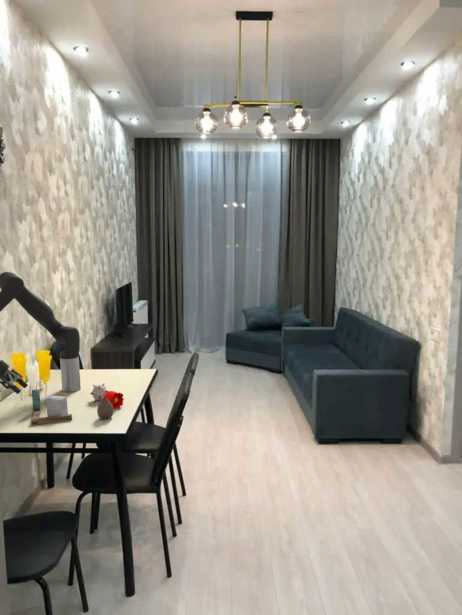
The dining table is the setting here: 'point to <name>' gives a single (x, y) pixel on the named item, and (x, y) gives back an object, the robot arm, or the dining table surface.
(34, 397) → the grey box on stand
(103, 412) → the grey rounded lump
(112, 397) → the flower
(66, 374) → the robot arm
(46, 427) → the dining table surface
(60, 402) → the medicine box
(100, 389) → the grey spiky ball
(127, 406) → the dining table surface
